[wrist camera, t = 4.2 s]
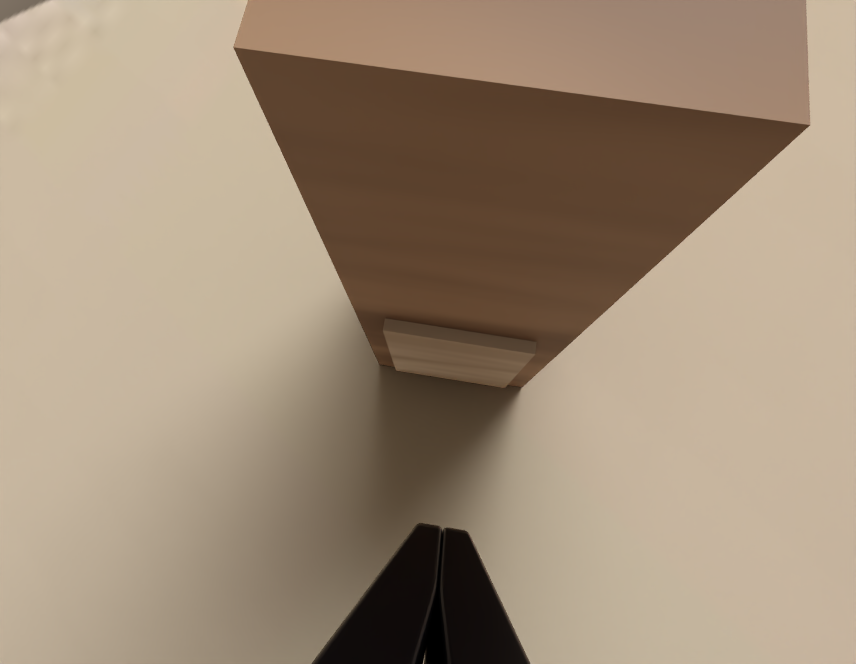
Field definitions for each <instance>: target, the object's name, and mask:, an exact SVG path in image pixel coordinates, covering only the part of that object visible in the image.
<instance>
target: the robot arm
mask: <svg viewBox="0 0 856 664" xmlns="http://www.w3.org/2000/svg"><path fill="white" fill-rule="evenodd" d="M424 655H425V658H424ZM423 660H424V664H530V662H529V660H528V658H527V656H526V653H525V651H524V649H523V647H522V645H521V643H520V641H519V639H518V636H517V634H516V632H515V630H514V628H513V626H512V624H511V621H510V619H509V617H508V615H507V613H506V611H505V609H504V607H503V604H502V602H501V600H500V598H499V596H498V594H497V592H496V590H495V587H494V585H493V583H492V581H491V579H490V577H489V575H488V573H487V570H486V568H485V566H484V564H483V562H482V560H481V558H480V556H479V553H478V551H477V549H476V547H475V545H474V543H473V541H472V539H471V536H470V535H469V533H468V532H467V531H465V530H459V529H454V528H444V529H443V531H442V529H441V527H440V526H436V525H430V524H424V523H419V524H417V525H416V526H415V527H414V528H413V530H412V531H411V532H410V534H409V535H408V536H407V538H406V539H405V540H404V542H403V543H402V544H401V546H400V547H399V548H398V550H397V551H396V552H395V554H394V555H393V556H392V558H391V559H390V560H389V562H388V563H387V564H386V566H385V567H384V568H383V569H382V571H381V572H380V573H379V575H378V576H377V577H376V579H375V580H374V581H373V583H372V584H371V585H370V587H369V588H368V589H367V591H366V592H365V593H364V595H363V596H362V597H361V599H360V600H359V601H358V603H357V604H356V605H355V607H354V608H353V609H352V611H351V612H350V613H349V615H348V616H347V617H346V619H345V620H344V621H343V623H342V624H341V625H340V627H339V628H338V629H337V631H336V632H335V633H334V635H333V636H332V637H331V638H330V640H329V641H328V642H327V644H326V645H325V646H324V648H323V649H322V650H321V652H320V653H319V654H318V656H317V657H316V658H315V660H314V661H313V662H312V664H423Z"/></svg>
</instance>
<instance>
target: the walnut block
mask: <svg viewBox="0 0 856 664" xmlns="http://www.w3.org/2000/svg"><path fill="white" fill-rule="evenodd" d="M234 50H235V52H236V54H237V56H238V58H239V61H240V63H241V65H242V67H243V69H244V71H245V74H246V76H247V78H248V80H249V82H250V84H251V87H252V89H253V91H254V93H255V95H256V97H257V100H258V102H259V104H260V106H261V108H262V110H263V113H264V115H265V117H266V119H267V121H268V123H269V126H270V128H271V130H272V132H273V134H274V137H275V139H276V141H277V143H278V145H279V147H280V150H281V152H282V154H283V156H284V158H285V160H286V163H287V165H288V167H289V169H290V171H291V173H292V176H293V178H294V180H295V182H296V184H297V186H298V189H299V191H300V193H301V195H302V197H303V200H304V202H305V204H306V206H307V208H308V210H309V213H310V215H311V217H312V219H313V221H314V223H315V226H316V228H317V230H318V232H319V234H320V236H321V239H322V241H323V243H324V245H325V247H326V249H327V252H328V254H329V256H330V258H331V260H332V262H333V265H334V267H335V269H336V271H337V273H338V276H339V278H340V280H341V282H342V284H343V286H344V289H345V291H346V293H347V295H348V297H349V299H350V302H351V304H352V306H353V308H354V310H355V312H356V315H357V317H358V319H359V321H360V323H361V325H362V328H363V330H364V332H365V334H366V336H367V339H368V341H369V343H370V345H371V347H372V349H373V352H374V354H375V356H376V358H377V360H378V362H379V364H380V365H386V366H393V367H395V369H396V371H402V372H408V373H414V374H421V375H427V376H433V377H439V378H446V379H452V380H458V381H464V382H470V383H477V384H483V385H489V386H495V387H502V388H505V387H506V386H507V385H511V386H517V387H523V386H524V385H525V384H526V383H527V382H528V381H529V380H530V379H532V378H533V377H534V376H535V375H536V374H537V373H538V372H539V371H540V370H541V369H543V368H544V367H545V366H546V365H547V364H548V363H549V362H550V361H551V360H552V359H554V358H555V357H556V356H557V355H558V354H559V353H560V352H561V351H562V350H563V349H565V348H566V347H567V346H568V345H569V344H570V343H571V342H572V341H573V340H574V339H576V338H577V337H578V336H579V335H580V334H581V333H582V332H583V331H584V330H585V329H587V328H588V327H589V326H590V325H591V324H592V323H593V322H594V321H595V320H596V319H597V318H599V317H600V316H601V315H602V314H603V313H604V312H605V311H606V310H607V309H608V308H610V307H611V306H612V305H613V304H614V303H615V302H616V301H617V300H618V299H619V298H621V297H622V296H623V295H624V294H625V293H626V292H627V291H628V290H629V289H630V288H632V287H633V286H634V285H635V284H636V283H637V282H638V281H639V280H640V279H641V278H643V277H644V276H645V275H646V274H647V273H648V272H649V271H650V270H651V269H652V268H654V267H655V266H656V265H657V264H658V263H659V262H660V261H661V260H662V259H663V258H665V257H666V256H667V255H668V254H669V253H670V252H671V251H672V250H673V249H674V248H676V247H677V246H678V245H679V244H680V243H681V242H682V241H683V240H684V239H685V238H686V237H688V236H689V235H690V234H691V233H692V232H693V231H694V230H695V229H696V228H697V227H699V226H700V225H701V224H702V223H703V222H704V221H705V220H706V219H707V218H708V217H710V216H711V215H712V214H713V213H714V212H715V211H716V210H717V209H718V208H719V207H721V206H722V205H723V204H724V203H725V202H726V201H727V200H728V199H729V198H730V197H732V196H733V195H734V194H735V193H736V192H737V191H738V190H739V189H740V188H741V187H743V186H744V185H745V184H746V183H747V182H748V181H749V180H750V179H751V178H752V177H754V176H755V175H756V174H757V173H758V172H759V171H760V170H761V169H762V168H763V167H765V166H766V165H767V164H768V163H769V162H770V161H771V160H772V159H773V158H774V157H775V156H777V155H778V154H779V153H780V152H781V151H782V150H783V149H784V148H785V147H786V146H788V145H789V144H790V143H791V142H792V141H793V140H794V139H795V138H796V137H797V136H799V135H800V134H801V133H802V132H803V131H804V130H805V129H806V128H807V127H808V126H810V107H809V77H808V47H807V17H806V0H248V3H247V6H246V9H245V12H244V15H243V18H242V21H241V25H240V28H239V31H238V34H237V37H236V40H235V44H234Z"/></svg>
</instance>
